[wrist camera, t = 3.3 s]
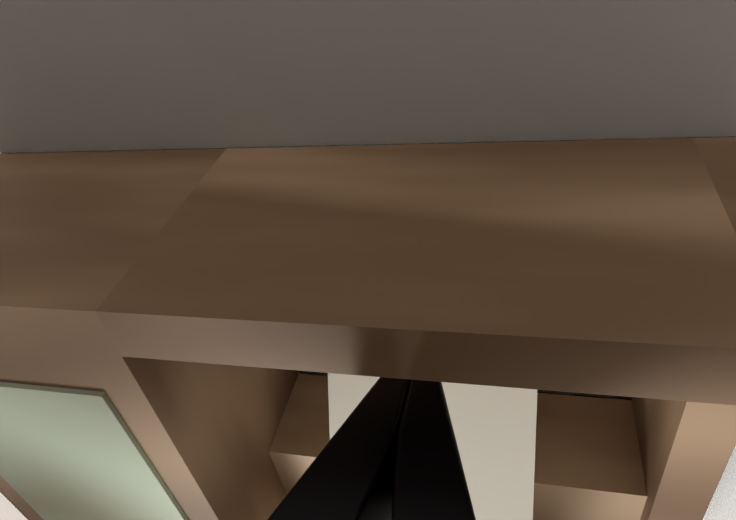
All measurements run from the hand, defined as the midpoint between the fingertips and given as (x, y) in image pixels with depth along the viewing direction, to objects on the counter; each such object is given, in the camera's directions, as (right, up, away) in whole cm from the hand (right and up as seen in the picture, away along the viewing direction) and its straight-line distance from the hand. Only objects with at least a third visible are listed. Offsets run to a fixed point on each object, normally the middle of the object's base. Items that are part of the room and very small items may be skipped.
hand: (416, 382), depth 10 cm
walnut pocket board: (-1, -1, +7) cm, 7 cm away
